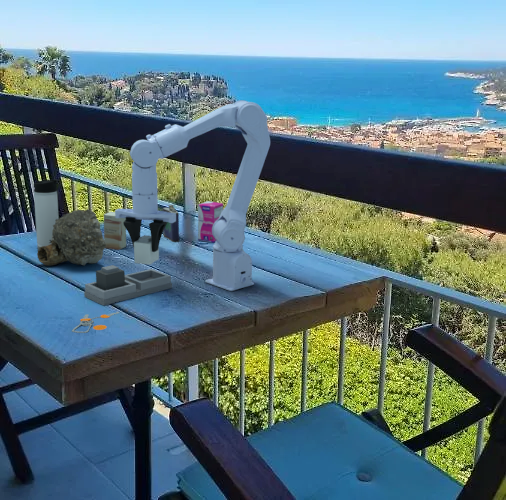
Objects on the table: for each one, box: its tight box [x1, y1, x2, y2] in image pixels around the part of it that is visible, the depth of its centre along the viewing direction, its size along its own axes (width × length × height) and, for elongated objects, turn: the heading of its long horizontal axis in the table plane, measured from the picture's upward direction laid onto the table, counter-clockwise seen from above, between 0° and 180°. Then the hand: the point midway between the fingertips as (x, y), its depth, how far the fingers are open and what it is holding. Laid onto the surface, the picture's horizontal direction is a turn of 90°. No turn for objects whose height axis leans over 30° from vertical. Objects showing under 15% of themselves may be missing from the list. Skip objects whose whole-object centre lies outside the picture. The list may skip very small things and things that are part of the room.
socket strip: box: [83, 268, 173, 306], centre depth 157 cm, size 8×19×3 cm, turn 135°
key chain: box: [71, 311, 120, 334], centre depth 139 cm, size 13×7×1 cm, turn 172°
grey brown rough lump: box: [36, 208, 107, 267], centre depth 177 cm, size 18×14×15 cm
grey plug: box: [133, 234, 160, 265], centre depth 159 cm, size 4×5×6 cm
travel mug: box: [33, 178, 60, 251], centre depth 191 cm, size 6×7×20 cm
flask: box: [162, 204, 180, 243], centre depth 206 cm, size 9×3×11 cm, turn 28°
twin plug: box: [95, 264, 126, 291], centre depth 153 cm, size 4×5×6 cm
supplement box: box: [197, 200, 224, 244], centre depth 205 cm, size 6×6×12 cm
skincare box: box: [103, 211, 127, 251], centre depth 195 cm, size 5×4×10 cm
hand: (146, 249), depth 159 cm, fingers closed on grey plug, 4 cm apart
